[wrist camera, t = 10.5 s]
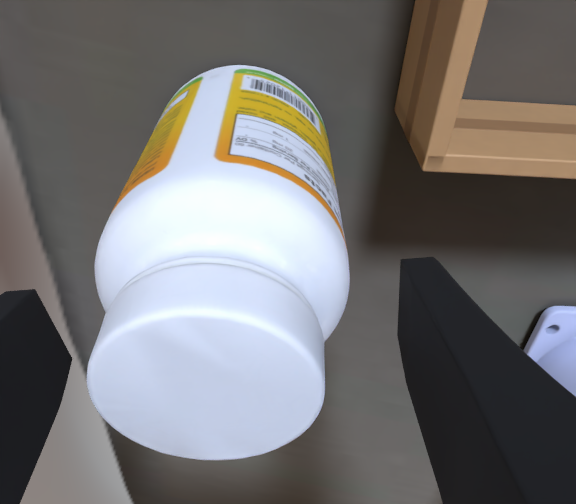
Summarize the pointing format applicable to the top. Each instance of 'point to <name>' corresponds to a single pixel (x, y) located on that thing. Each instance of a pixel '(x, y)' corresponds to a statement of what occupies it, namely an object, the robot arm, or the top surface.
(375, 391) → the top surface
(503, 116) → the wooden box
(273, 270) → the supplement bottle
